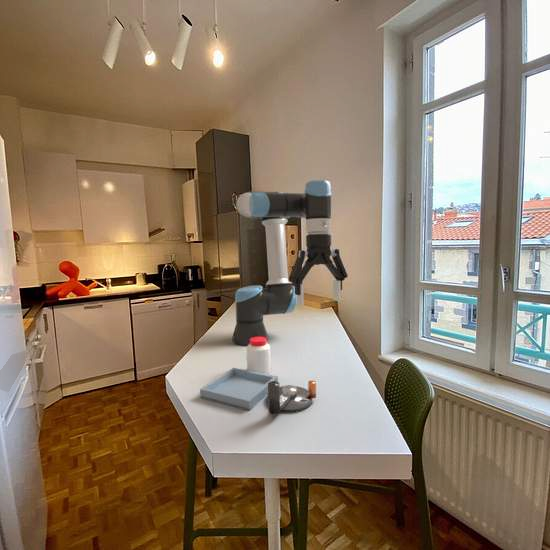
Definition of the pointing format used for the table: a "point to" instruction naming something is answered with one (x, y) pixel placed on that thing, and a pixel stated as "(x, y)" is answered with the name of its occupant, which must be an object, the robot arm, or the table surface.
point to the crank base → (300, 398)
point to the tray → (238, 388)
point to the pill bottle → (258, 355)
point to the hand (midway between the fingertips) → (319, 303)
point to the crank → (274, 396)
